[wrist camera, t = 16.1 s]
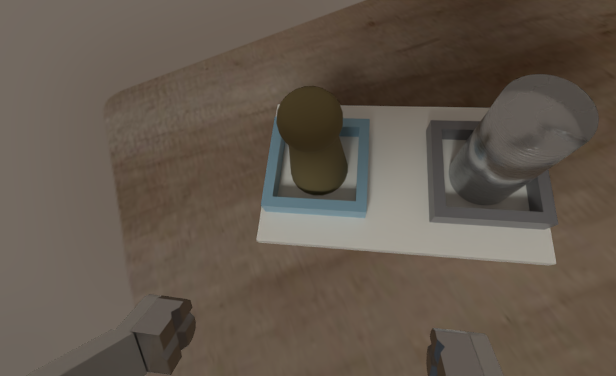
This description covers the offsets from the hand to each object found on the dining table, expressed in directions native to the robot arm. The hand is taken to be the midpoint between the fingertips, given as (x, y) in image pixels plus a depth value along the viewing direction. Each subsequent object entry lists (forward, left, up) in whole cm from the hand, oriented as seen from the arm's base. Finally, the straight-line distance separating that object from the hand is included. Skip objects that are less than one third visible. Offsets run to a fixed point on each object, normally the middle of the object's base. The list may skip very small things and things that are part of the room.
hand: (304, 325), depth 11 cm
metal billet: (-14, -14, -19) cm, 27 cm away
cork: (+2, -14, -19) cm, 24 cm away
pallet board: (-6, -14, -20) cm, 25 cm away
